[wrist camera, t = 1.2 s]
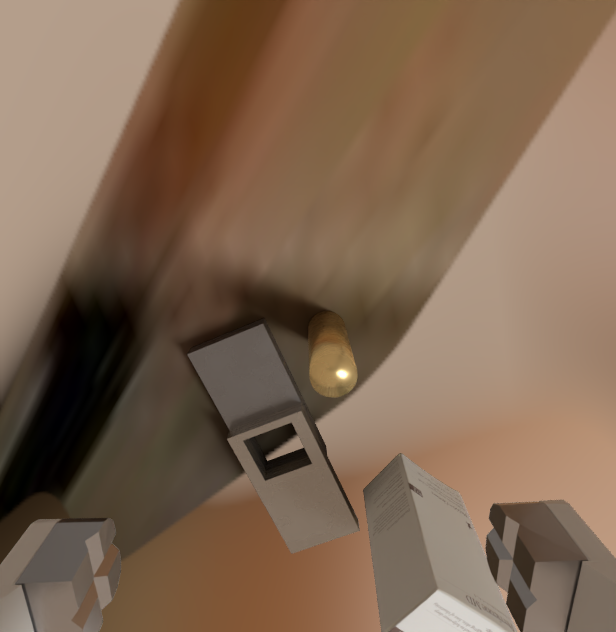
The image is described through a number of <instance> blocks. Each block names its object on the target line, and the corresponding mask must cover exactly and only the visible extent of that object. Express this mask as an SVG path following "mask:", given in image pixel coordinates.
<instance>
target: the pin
mask: <svg viewBox="0 0 616 632" xmlns="http://www.w3.org/2000/svg"><path fill="white" fill-rule="evenodd" d="M308 343H309V369H310V381H311V384H312V386H313V388H314V389H315V390H316V391H317V392H318V393H320V394H321V395H324V396H327V397H339V396H343V395H345V394H347V393H348V392H349V391H351V390H352V388H353V387H354V386H355V384H356V381H357V369H356V365H355V361H354V358H353V354H352V350H351V346H350V343H349V339H348V335H347V331H346V328H345V324H344V321H343V319H342V318H341V317H340V316H339V315H338V314H336V313H334V312H330V311H324V312H320V313H318V314H316V315H315V316H313V317H312V319H311V320H310V322H309V325H308Z"/></svg>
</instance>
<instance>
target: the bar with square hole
mask: <svg viewBox="0 0 616 632" xmlns="http://www.w3.org/2000/svg"><path fill="white" fill-rule="evenodd" d="M187 355H188V357H189V358H190V360H191V362H192V364H193V366H194V367H195V369H196V371H197V373H198V375H199V376H200V378H201V380H202V382H203V384H204V385H205V387H206V389H207V391H208V393H209V394H210V396H211V398H212V400H213V401H214V403H215V405H216V407H217V409H218V410H219V412H220V414H221V416H222V418H223V419H224V421H225V423H226V425H227V427H228V428H229V433H228V437H227V440H228V442H229V444H230V445H231V447H232V449H233V451H234V453H235V454H236V456H237V458H238V460H239V461H240V463H241V465H242V467H243V469H244V470H245V472H246V474H247V475H248V477H249V479H250V481H251V483H252V484H253V486H254V488H255V490H256V491H257V493H258V495H259V497H260V498H261V500H262V502H263V504H264V506H265V507H266V509H267V511H268V513H269V515H270V516H271V518H272V520H273V522H274V523H275V525H276V527H277V529H278V530H279V532H280V534H281V536H282V537H283V539H284V541H285V543H286V545H287V546H288V548H289V550H290V552H291V553H295V552H298V551H301V550H304V549H307V548H310V547H313V546H316V545H319V544H321V543H324V542H327V541H330V540H333V539H336V538H339V537H342V536H345V535H348V534H351V533H354V532H357V531H360V530H359V523H358V518H357V516H356V515H355V513H354V510H353V508H352V506H351V504H350V502H349V500H348V498H347V496H346V494H345V492H344V490H343V488H342V485H341V483H340V481H339V479H338V477H337V475H336V473H335V471H334V469H333V467H332V465H331V463H330V461H329V459H328V457H327V450H326V445H325V443H324V441H323V439H322V437H321V435H320V433H319V430H318V428H317V426H316V424H315V422H314V420H313V418H312V416H311V414H310V412H309V410H308V408H307V405H306V403H305V401H304V399H303V397H302V395H301V393H300V391H299V389H298V387H297V385H296V383H295V381H294V378H293V376H292V374H291V372H290V370H289V368H288V366H287V364H286V362H285V360H284V358H283V356H282V354H281V351H280V349H279V347H278V345H277V343H276V341H275V339H274V337H273V335H272V333H271V331H270V329H269V327H268V324H267V322H266V320H265V318H263V319H261V320H258V321H256V322H253V323H251V324H248V325H246V326H244V327H241V328H239V329H236V330H234V331H231V332H229V333H226V334H224V335H222V336H219V337H217V338H214V339H212V340H209V341H207V342H204V343H202V344H199V345H197V346H195V347H192V348H191V349H190V351H189V352H188V354H187ZM291 422H292V424H293V426H294V428H295V430H296V432H297V434H298V436H299V438H300V440H301V442H302V444H303V446H304V448H302V449H299V450H296V451H294V452H291V453H288V454H286V455H283V456H280V457H277V458H275V459H272V460H269V461H267V460H266V458H265V456H264V454H263V452H262V450H261V448H260V447H259V445H258V443H257V441H256V439H255V437H254V436H257V435H259V434H262V433H265V432H267V431H270V430H273V429H275V428H278V427H281V426H283V425H286V424H289V423H291Z"/></svg>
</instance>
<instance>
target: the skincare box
mask: <svg viewBox="0 0 616 632" xmlns="http://www.w3.org/2000/svg"><path fill="white" fill-rule="evenodd" d="M363 492H364V500H365V508H366V515H367V523H368V531H369V538H370V546H371V553H372V562H373V569H374V577H375V584H376V592H377V601H378V609H379V617H380V624H381V632H517V630H516V628H515V625H514V623H513V621H512V618H511V616H510V613H509V611H508V608H507V606H506V604H505V601H504V599H503V597H502V594H501V592H500V589H499V587H498V585H497V584H496V582H495V580H494V578H493V576H492V574H491V571H490V568H489V565H488V562H487V557H486V555H485V553H484V550H483V548H482V545H481V543H480V540H479V538H478V536H477V533H476V531H475V529H474V526H473V524H472V521H471V519H470V516H469V514H468V512H467V509H466V507H465V505H464V502H463V500H462V497H461V495H460V494H459V492H458V491H456V490H454V489H452V488H450V487H448V486H447V485H445V484H444V483H442V482H441V481H439V480H438V479H436V478H435V477H433V476H432V475H430V474H429V473H427V472H426V471H425V470H423V469H421V468H420V467H419V466H418V465H416V464H415V463H414V462H412V461H411V460H410V459H408V458H407V457H406V456H405V455H403V454H401V453H400V454H398V455H397V456H396V457H395V458H394V459H393V460H392V461H391V462H390V463H389V464H388V465H387V466H386V467H385V468H384V469H383V470H382V471H381V472H380V474H378V475H377V476H376V477H375V478H374V479H373V480H372V481H371V482H370V483H369V484H368V485H367V486H366V487H365V488H364V490H363Z"/></svg>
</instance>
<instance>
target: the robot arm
mask: <svg viewBox="0 0 616 632" xmlns="http://www.w3.org/2000/svg"><path fill="white" fill-rule="evenodd" d="M489 520H490V521H491V523H492V525H493V527H494V528H493V529H492V530H491V531H490V533H489V534H488V535H487V538H486V555H487V562H488V565H489V568H490V571H491V574H492V576H493V578H494V580H495V582H496V584H497V585H498V586H500V587H501V588H502V589H504V590H505V591H506V592H507V593H508V595H507V601H506V604H507V606H508V608H509V610H510V612H511V614H512V616H513V618H514V620H515V622H516V624H517V626H518V628H519V630H520V632H616V558H615V557H614V556H613V555H612V554H611V552H610V551H609V550H608V549H607V548H606V547H605V546H604V544H603V543H602V542H601V541H600V540H599V538H598V537H597V536H596V535H595V534H594V532H593V531H592V530H591V529H590V528H589V527H588V526H587V524H586V523H585V522H584V521H583V520H582V519H581V517H580V516H579V515H578V514H577V512H576V511H575V510H574V509H573V508H572V507H571V505H570V504H569V503H567V502H566V501H564V500H548V501H539V502H518V503H517V502H516V503H494V504H493V505H492V507H491V509H490V515H489ZM115 534H116V530H115V526H114V522H113V520H111V519H110V518H76V519H39V520H37V521H35V522H34V523H32V524H31V525H30V526H29V528H28V529H27V531H26V532H25V533H24V534H23V536H22V537H21V538H20V539H19V541H18V542H17V544H16V545H15V546H14V548H13V549H12V550H11V552H10V553H9V554H8V556H7V557H6V558H5V560H4V561H3V562H2V563H1V565H0V632H99V630H100V628H101V625H102V623H103V618H102V613H101V610H102V609H103V608H104V607H105V606H106V605H107V604H109V603H110V602H111V601H112V599H113V597H114V594H115V592H116V589H117V587H118V582H119V577H120V572H121V558H120V552H119V549H118V548H117V547H115V546H114V545H113V544H112V541H113V539H114V536H115Z"/></svg>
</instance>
